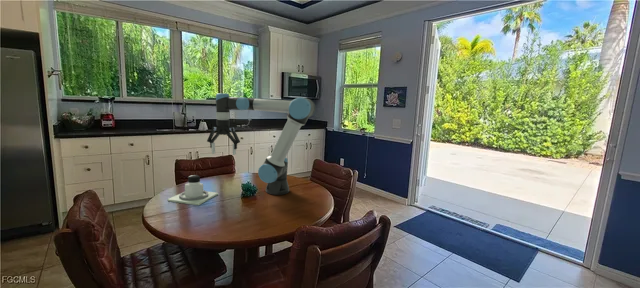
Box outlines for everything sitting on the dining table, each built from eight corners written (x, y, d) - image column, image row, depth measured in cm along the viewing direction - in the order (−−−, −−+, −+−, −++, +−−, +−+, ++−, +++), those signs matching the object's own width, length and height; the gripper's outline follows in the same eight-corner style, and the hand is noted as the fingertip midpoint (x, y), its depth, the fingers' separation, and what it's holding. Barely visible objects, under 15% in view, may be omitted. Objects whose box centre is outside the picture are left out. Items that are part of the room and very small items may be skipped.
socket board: (218, 194, 164) (218, 190, 164) (198, 205, 146) (198, 201, 146) (190, 190, 168) (190, 187, 167) (167, 201, 149) (167, 197, 149)
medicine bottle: (203, 195, 158) (203, 175, 156) (192, 198, 152) (192, 178, 150) (195, 193, 161) (195, 173, 160) (184, 196, 155) (184, 175, 154)
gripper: (245, 119, 165) (245, 153, 168) (207, 118, 168) (208, 151, 171) (240, 120, 158) (240, 156, 161) (200, 118, 161) (201, 153, 164)
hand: (223, 153), depth 166 cm, fingers open, 13 cm apart
